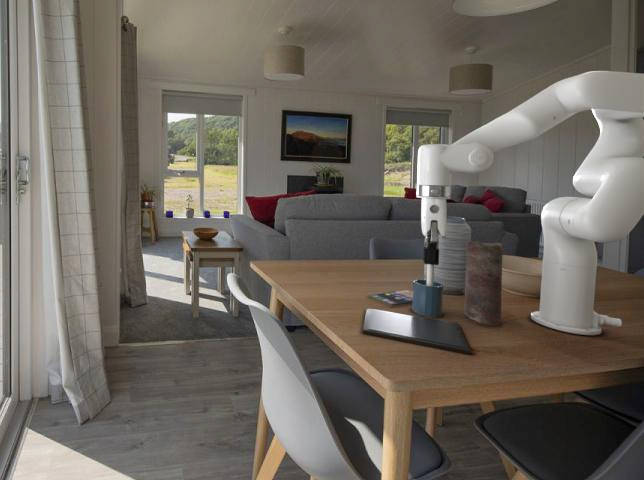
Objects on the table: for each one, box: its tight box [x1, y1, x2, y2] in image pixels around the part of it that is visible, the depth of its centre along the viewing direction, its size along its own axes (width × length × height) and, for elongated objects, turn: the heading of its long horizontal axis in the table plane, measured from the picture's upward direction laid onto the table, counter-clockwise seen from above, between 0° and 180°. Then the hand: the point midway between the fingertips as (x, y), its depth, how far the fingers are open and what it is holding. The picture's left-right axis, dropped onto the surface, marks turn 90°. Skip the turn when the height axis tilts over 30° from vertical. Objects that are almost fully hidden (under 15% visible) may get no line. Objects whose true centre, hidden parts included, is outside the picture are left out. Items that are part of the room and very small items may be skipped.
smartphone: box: [368, 289, 413, 306], centre depth 112 cm, size 8×15×1 cm, turn 111°
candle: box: [464, 240, 504, 326], centre depth 97 cm, size 8×7×20 cm
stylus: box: [427, 264, 434, 286], centre depth 101 cm, size 2×2×14 cm
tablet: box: [362, 307, 472, 355], centre depth 91 cm, size 20×16×1 cm
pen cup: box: [411, 278, 444, 317], centre depth 102 cm, size 7×7×8 cm
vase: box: [423, 215, 472, 296], centre depth 122 cm, size 12×12×23 cm
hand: (430, 262), depth 101 cm, fingers closed on stylus, 1 cm apart
